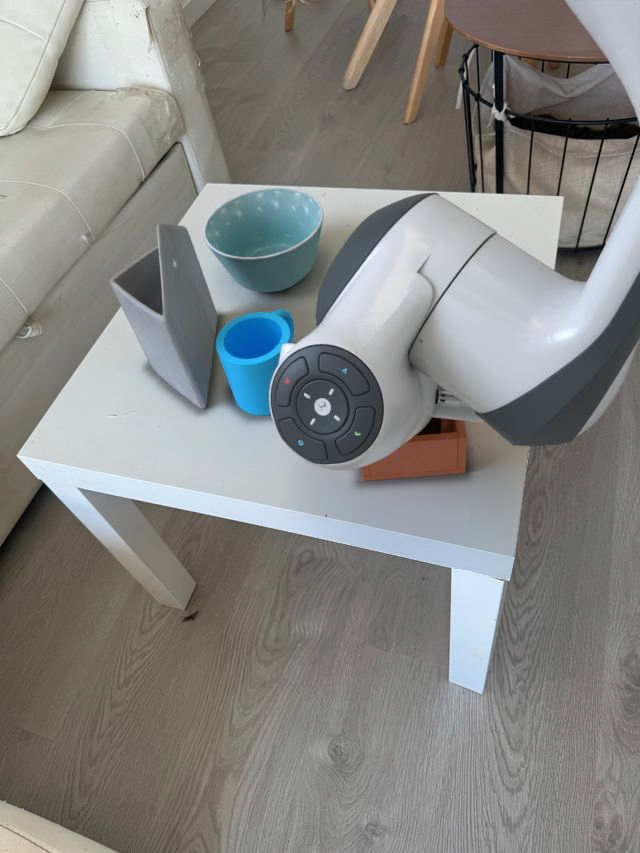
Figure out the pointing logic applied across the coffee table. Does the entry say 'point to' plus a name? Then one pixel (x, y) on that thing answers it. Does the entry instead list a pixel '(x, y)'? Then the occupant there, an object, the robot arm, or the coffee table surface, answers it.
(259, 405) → the mug
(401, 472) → the orange open box
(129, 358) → the coffee table surface
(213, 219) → the bowl
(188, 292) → the planter
